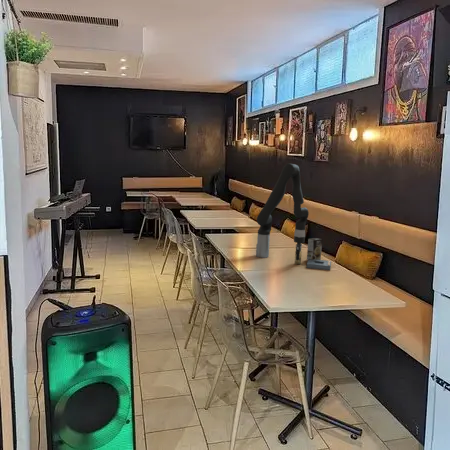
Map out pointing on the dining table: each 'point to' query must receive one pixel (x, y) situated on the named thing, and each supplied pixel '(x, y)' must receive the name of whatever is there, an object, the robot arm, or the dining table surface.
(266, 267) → the dining table surface
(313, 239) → the coffee box
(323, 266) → the plate
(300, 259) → the translucent olive cylinder
